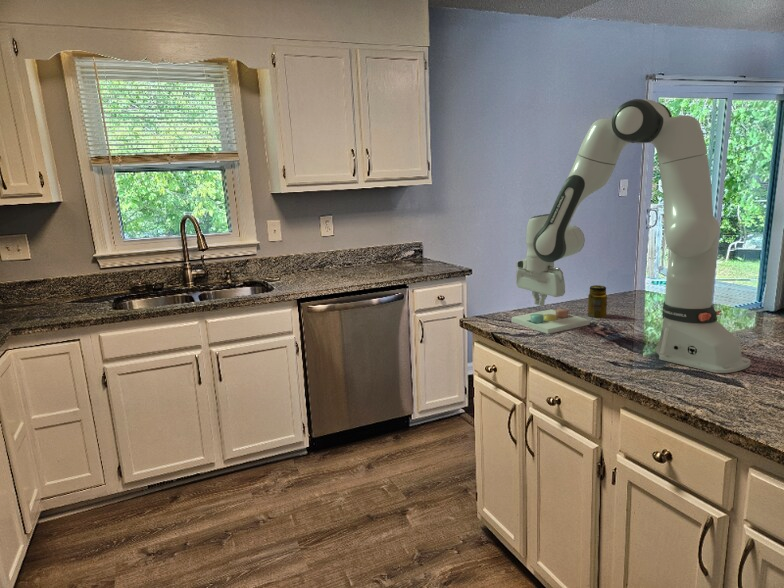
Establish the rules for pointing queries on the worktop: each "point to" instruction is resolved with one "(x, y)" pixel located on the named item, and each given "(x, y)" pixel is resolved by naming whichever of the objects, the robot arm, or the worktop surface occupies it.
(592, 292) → the condiment
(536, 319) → the button teal
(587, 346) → the worktop surface
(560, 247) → the robot arm
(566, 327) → the panel
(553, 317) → the button mustard
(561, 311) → the salmon brown ball
